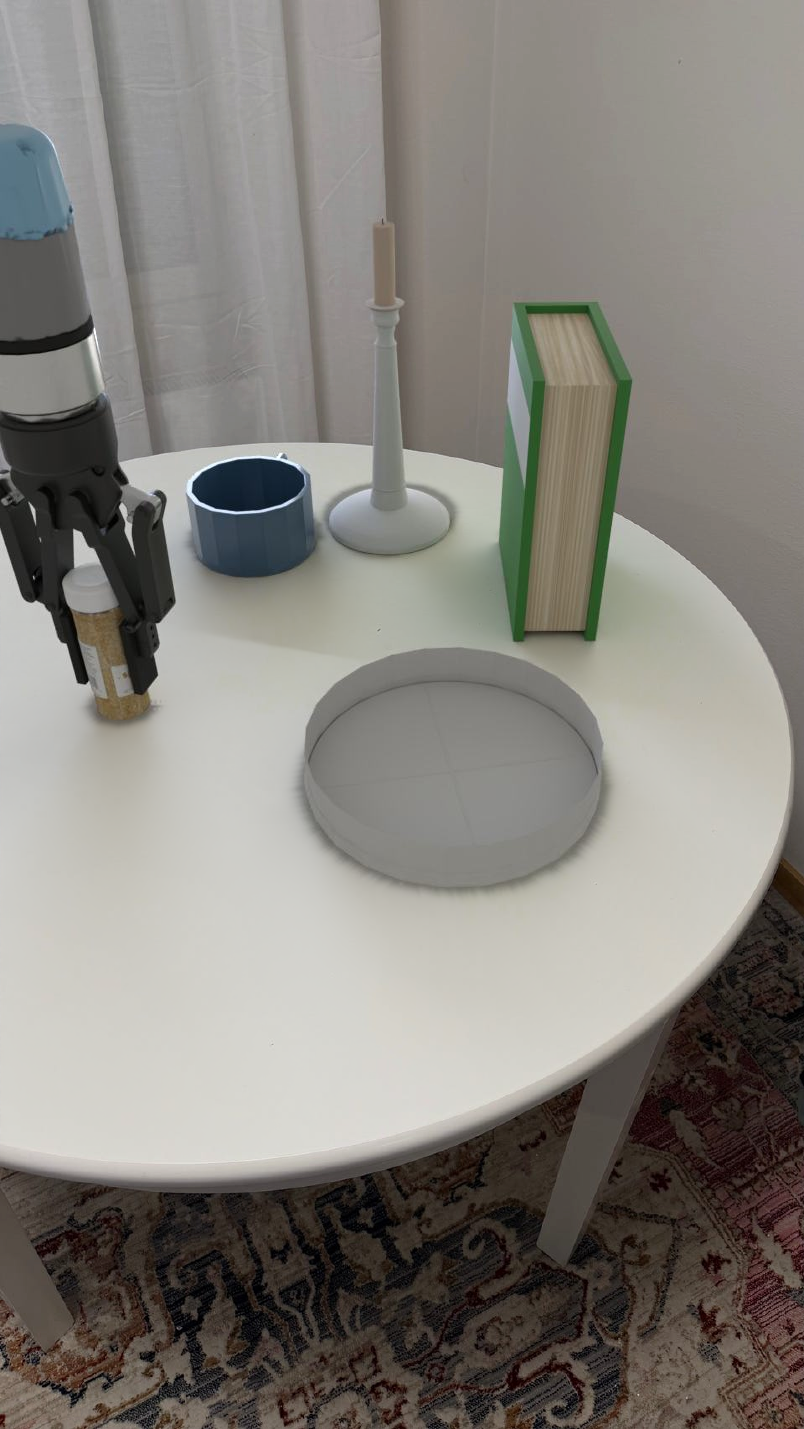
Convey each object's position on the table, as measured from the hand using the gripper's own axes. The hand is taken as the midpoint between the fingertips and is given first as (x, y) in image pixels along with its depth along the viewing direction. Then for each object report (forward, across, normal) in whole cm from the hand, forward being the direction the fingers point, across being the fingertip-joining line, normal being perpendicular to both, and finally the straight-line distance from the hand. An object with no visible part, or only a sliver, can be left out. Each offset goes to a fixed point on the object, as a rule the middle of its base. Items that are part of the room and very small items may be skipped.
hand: (117, 678), depth 81 cm
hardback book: (+4, -30, -28) cm, 41 cm away
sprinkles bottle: (+4, 0, 0) cm, 4 cm away
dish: (+4, -28, +1) cm, 28 cm away
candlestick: (+4, -12, -36) cm, 38 cm away
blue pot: (+4, 0, -30) cm, 30 cm away
